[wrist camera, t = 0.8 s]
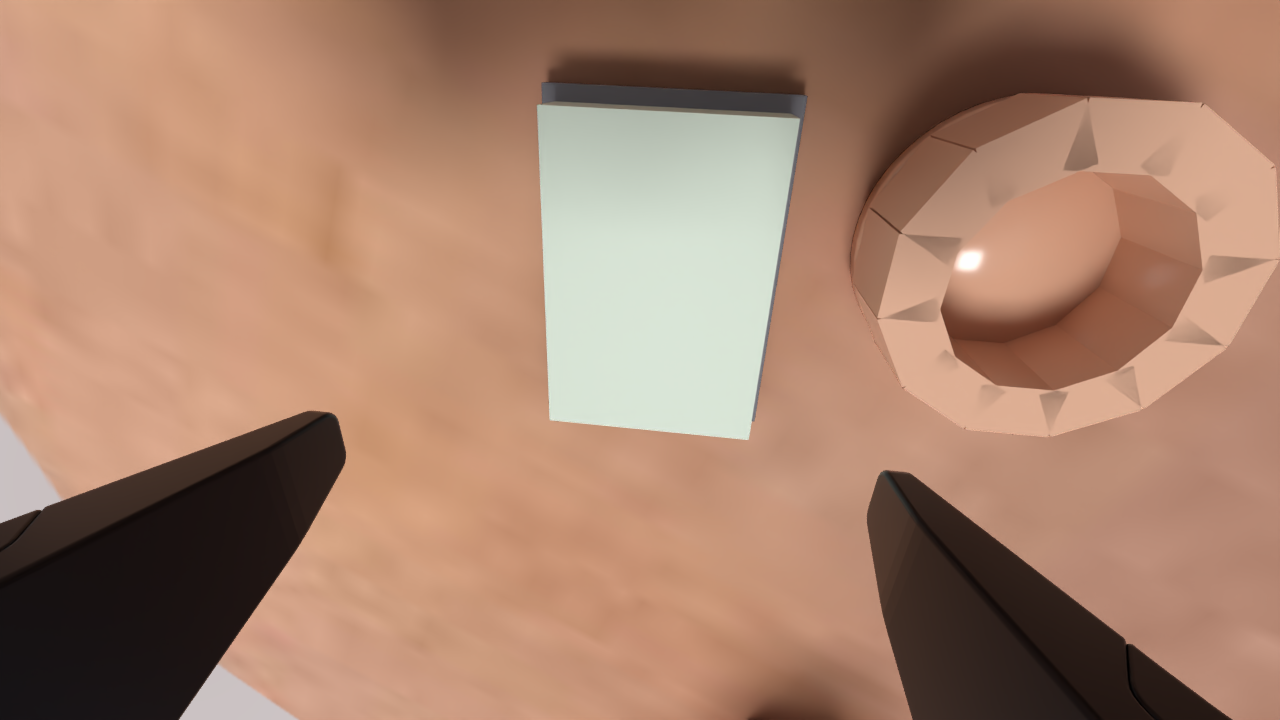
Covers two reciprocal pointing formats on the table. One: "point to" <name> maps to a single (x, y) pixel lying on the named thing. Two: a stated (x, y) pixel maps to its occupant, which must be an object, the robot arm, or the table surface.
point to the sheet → (660, 261)
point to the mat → (697, 101)
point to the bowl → (1063, 257)
